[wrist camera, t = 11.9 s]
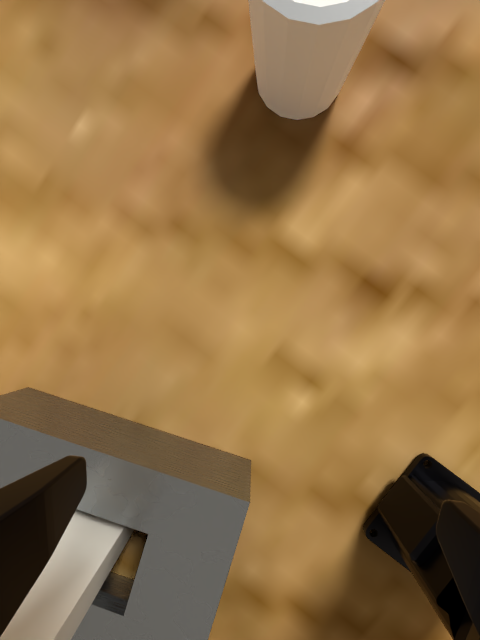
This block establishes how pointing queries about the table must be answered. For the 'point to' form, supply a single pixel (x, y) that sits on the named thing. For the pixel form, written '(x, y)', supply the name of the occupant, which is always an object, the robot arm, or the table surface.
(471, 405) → the table surface
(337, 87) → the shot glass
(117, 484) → the box
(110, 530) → the block
